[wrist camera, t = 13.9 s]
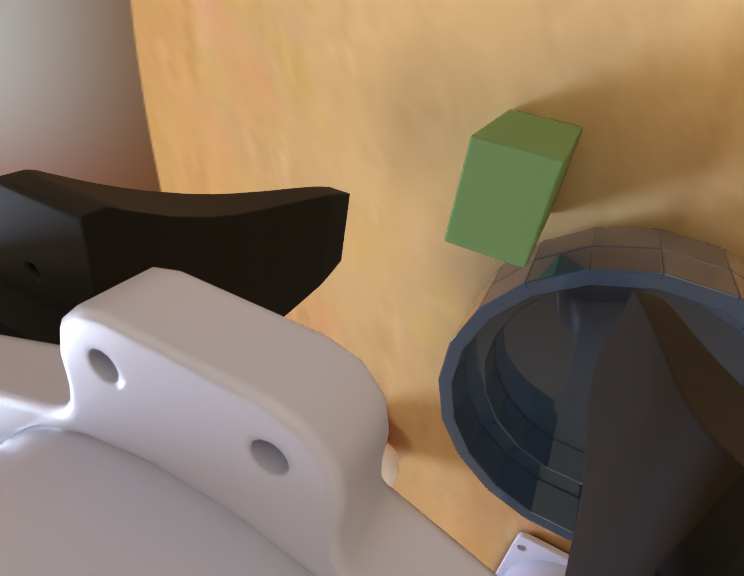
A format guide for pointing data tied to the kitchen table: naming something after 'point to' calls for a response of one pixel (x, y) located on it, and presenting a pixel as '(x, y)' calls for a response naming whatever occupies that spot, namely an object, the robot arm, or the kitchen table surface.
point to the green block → (510, 185)
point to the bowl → (570, 354)
